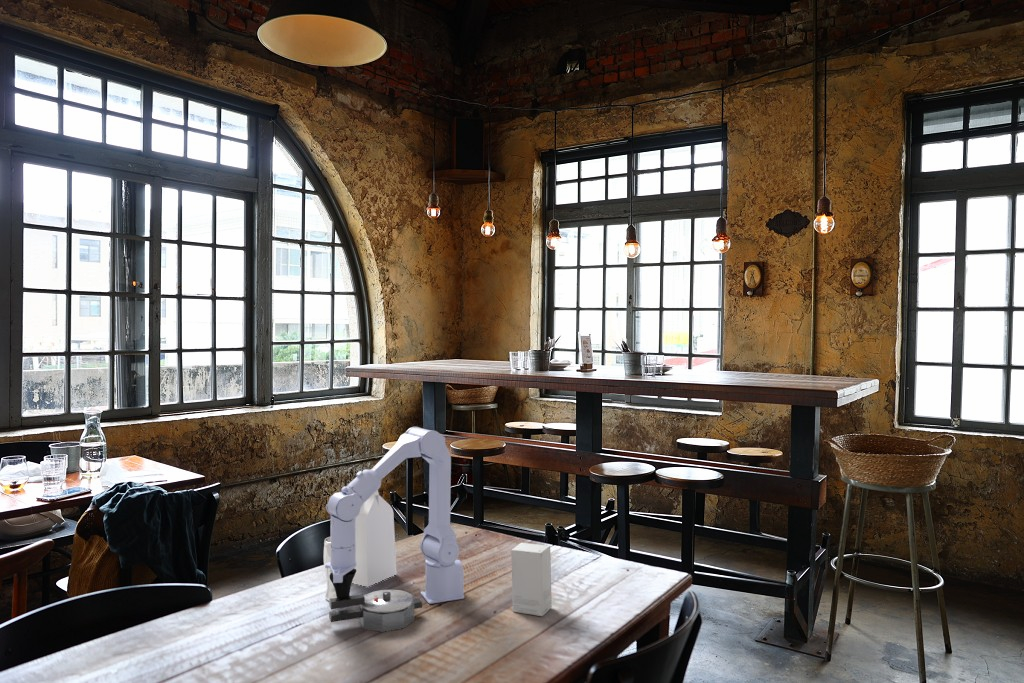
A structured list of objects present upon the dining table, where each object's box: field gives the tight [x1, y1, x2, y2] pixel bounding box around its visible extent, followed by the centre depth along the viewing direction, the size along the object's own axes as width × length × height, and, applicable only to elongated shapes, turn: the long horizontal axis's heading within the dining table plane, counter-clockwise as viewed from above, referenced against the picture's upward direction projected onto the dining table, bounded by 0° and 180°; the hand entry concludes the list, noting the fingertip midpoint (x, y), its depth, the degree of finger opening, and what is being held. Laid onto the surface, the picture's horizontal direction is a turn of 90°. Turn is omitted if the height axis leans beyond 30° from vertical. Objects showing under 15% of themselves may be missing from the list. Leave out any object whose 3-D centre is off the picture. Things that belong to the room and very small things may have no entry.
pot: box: [328, 597, 423, 633], centre depth 166 cm, size 21×12×4 cm, turn 114°
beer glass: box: [323, 536, 351, 602], centre depth 181 cm, size 7×7×15 cm
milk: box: [352, 489, 398, 588], centre depth 196 cm, size 12×12×26 cm
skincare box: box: [510, 542, 553, 617], centre depth 174 cm, size 8×7×16 cm
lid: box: [329, 589, 414, 613], centre depth 166 cm, size 19×12×2 cm, turn 113°
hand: (343, 602), depth 166 cm, fingers closed
